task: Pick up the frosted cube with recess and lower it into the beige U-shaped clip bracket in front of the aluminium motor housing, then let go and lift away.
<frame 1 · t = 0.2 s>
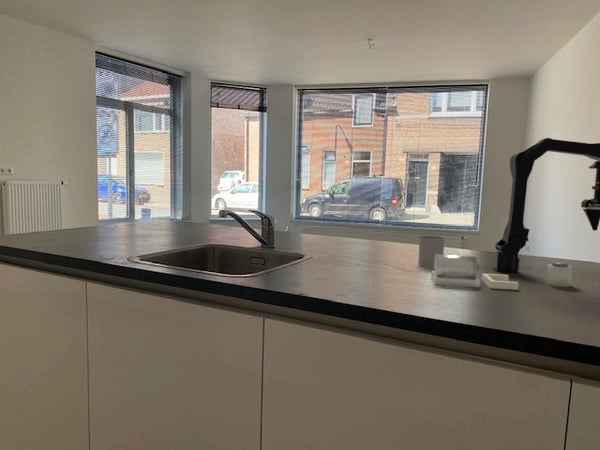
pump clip: (504, 285, 121), on the counter
cup: (430, 265, 150), on the counter
frosted cube with recess: (558, 284, 123), on the counter
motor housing: (454, 282, 124), on the counter
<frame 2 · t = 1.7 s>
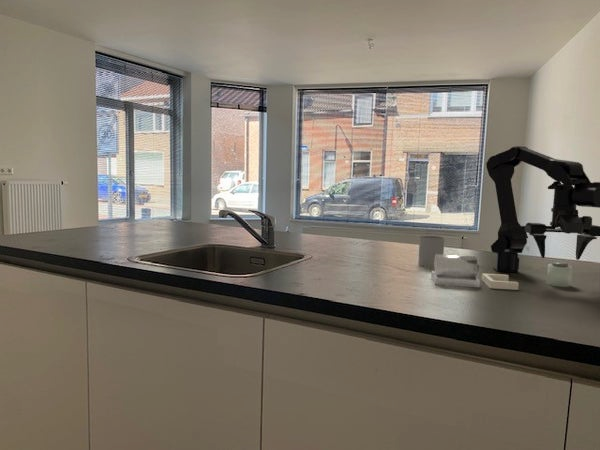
hand: (560, 258, 122), 8 cm above the counter, fingers open, 9 cm apart
nothing on the counter moved.
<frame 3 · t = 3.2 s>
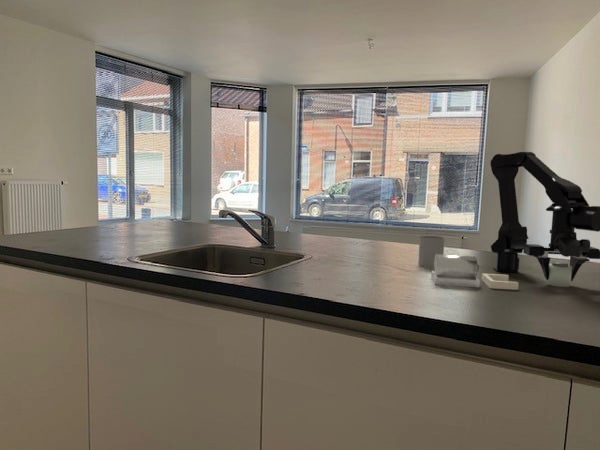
hand: (558, 280, 123), 1 cm above the counter, fingers closed on frosted cube with recess, 6 cm apart
frosted cube with recess: (558, 284, 123), on the counter, touching gripper
everything else where it was.
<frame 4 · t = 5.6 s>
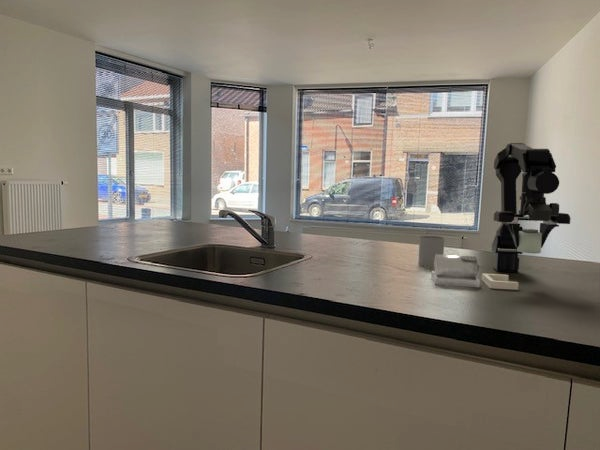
hand: (528, 247, 120), 11 cm above the counter, fingers closed on frosted cube with recess, 6 cm apart
frosted cube with recess: (528, 251, 120), point 10 cm above the counter, touching gripper
everything else where it was.
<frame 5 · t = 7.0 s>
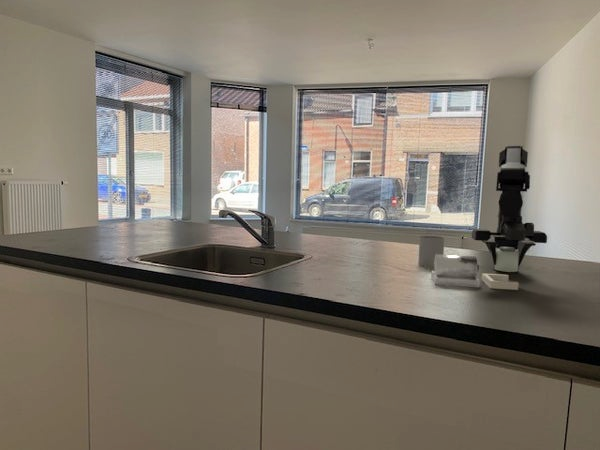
hand: (506, 265, 120), 6 cm above the counter, fingers closed on frosted cube with recess, 6 cm apart
frosted cube with recess: (506, 269, 121), point 5 cm above the counter, touching gripper
everything else where it was.
when the fingers open (3 cm above the counter, at t = 8.0 s): frosted cube with recess drops 2 cm, on the counter.
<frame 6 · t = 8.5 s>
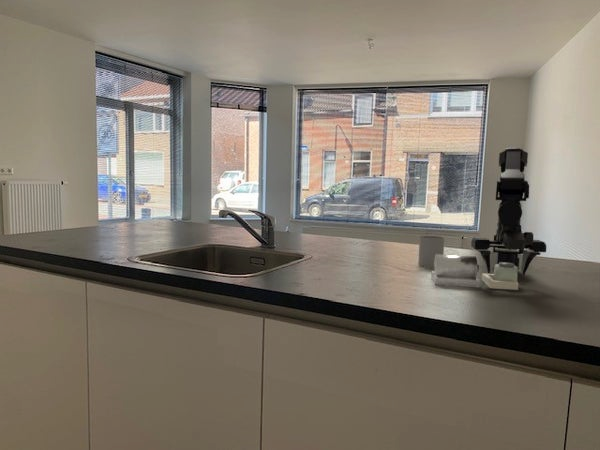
hand: (505, 274, 121), 3 cm above the counter, fingers open, 9 cm apart
frosted cube with recess: (504, 285, 121), on the counter
everything else where it was.
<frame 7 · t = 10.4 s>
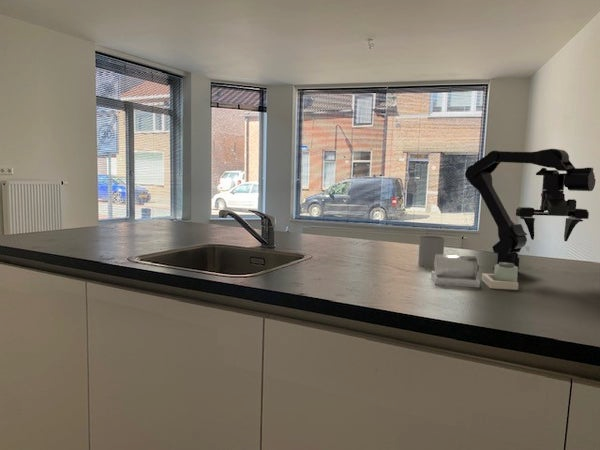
hand: (548, 240, 130), 12 cm above the counter, fingers open, 9 cm apart
nothing on the counter moved.
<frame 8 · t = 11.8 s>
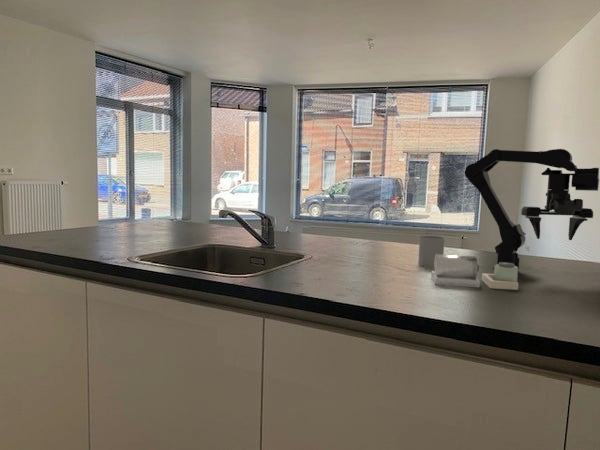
hand: (554, 239, 132), 12 cm above the counter, fingers open, 9 cm apart
nothing on the counter moved.
at the end: frosted cube with recess 0.2 cm off-centre on the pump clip, point 0.0 cm above the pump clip's base; frosted cube with recess tilted 0°; the gripper is holding nothing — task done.
